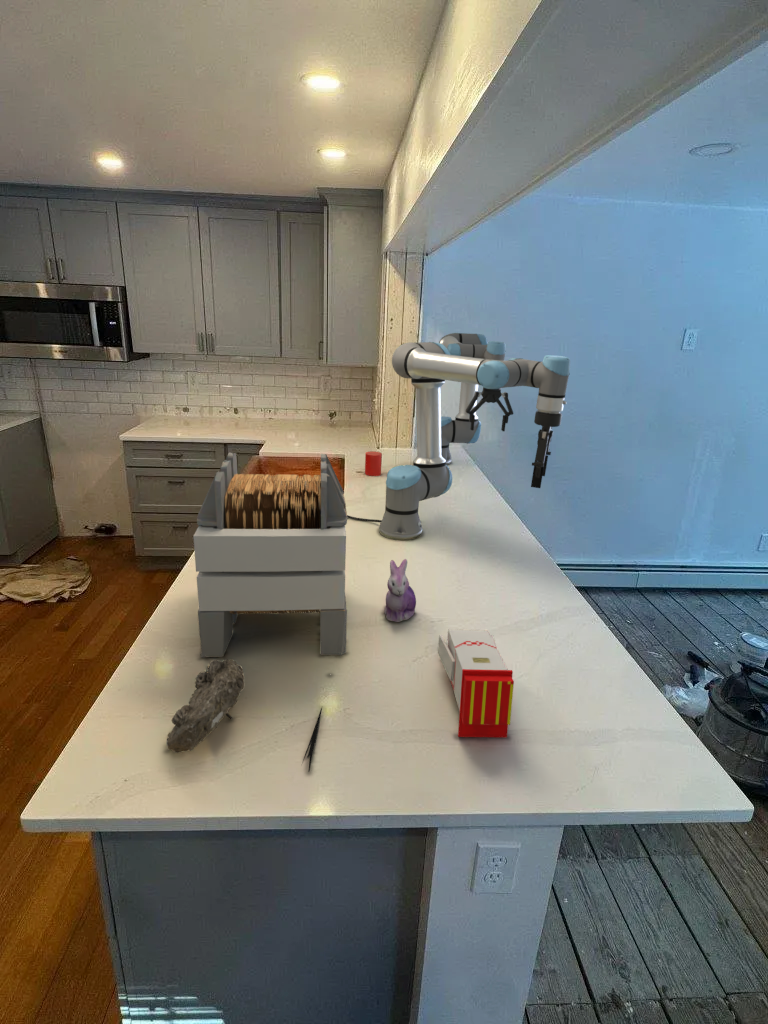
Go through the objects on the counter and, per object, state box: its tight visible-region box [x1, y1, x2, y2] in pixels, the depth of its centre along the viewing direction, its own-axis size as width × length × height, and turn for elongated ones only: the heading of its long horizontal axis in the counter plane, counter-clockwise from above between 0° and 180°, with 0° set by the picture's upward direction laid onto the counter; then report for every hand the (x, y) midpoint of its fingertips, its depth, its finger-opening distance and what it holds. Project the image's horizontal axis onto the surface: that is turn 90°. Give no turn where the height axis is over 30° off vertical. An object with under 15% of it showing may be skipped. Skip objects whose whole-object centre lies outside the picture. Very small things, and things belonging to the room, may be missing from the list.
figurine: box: [384, 558, 417, 623], centre depth 145 cm, size 9×10×15 cm
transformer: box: [193, 452, 348, 659], centre depth 136 cm, size 34×33×41 cm
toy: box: [437, 628, 515, 738], centre depth 117 cm, size 12×13×30 cm
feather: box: [301, 673, 332, 771], centre depth 108 cm, size 2×28×2 cm
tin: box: [364, 450, 383, 477], centre depth 269 cm, size 8×8×10 cm
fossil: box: [166, 658, 245, 754], centre depth 106 cm, size 22×10×15 cm
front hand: (538, 481), depth 171 cm, fingers open, 13 cm apart
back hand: (487, 430), depth 244 cm, fingers open, 13 cm apart
